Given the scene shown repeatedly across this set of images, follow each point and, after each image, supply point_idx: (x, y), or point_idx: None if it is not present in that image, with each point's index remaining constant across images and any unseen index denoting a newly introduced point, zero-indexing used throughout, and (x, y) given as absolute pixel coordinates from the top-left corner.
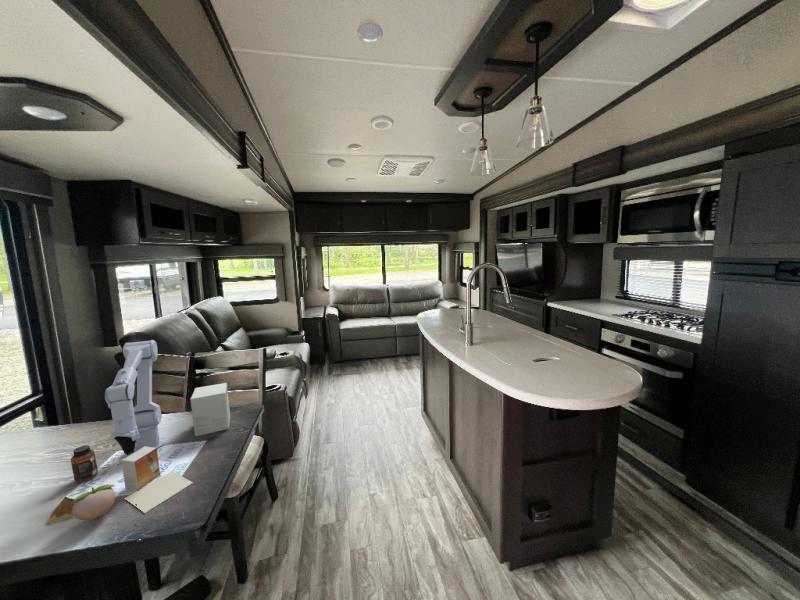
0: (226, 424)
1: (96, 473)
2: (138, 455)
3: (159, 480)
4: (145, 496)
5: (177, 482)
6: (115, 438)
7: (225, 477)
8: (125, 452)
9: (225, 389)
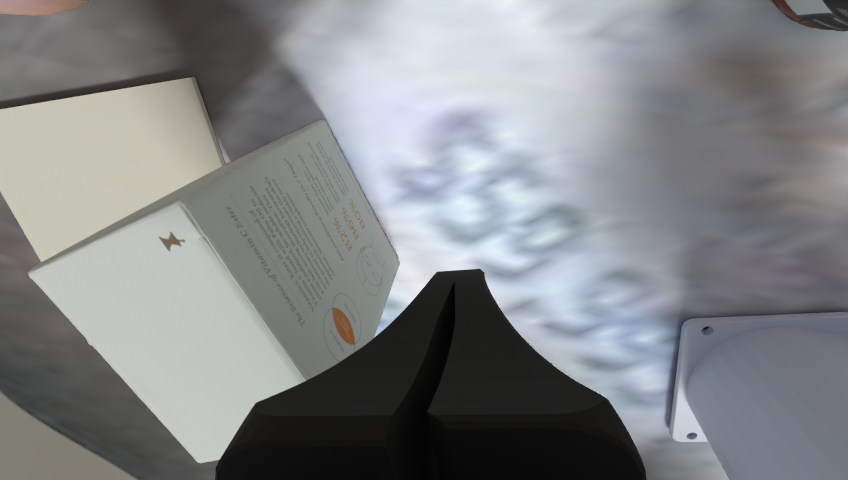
0: None
1: (787, 10)
2: (148, 339)
3: None
4: (118, 168)
5: None
6: (518, 433)
7: (50, 420)
8: (425, 287)
9: None
